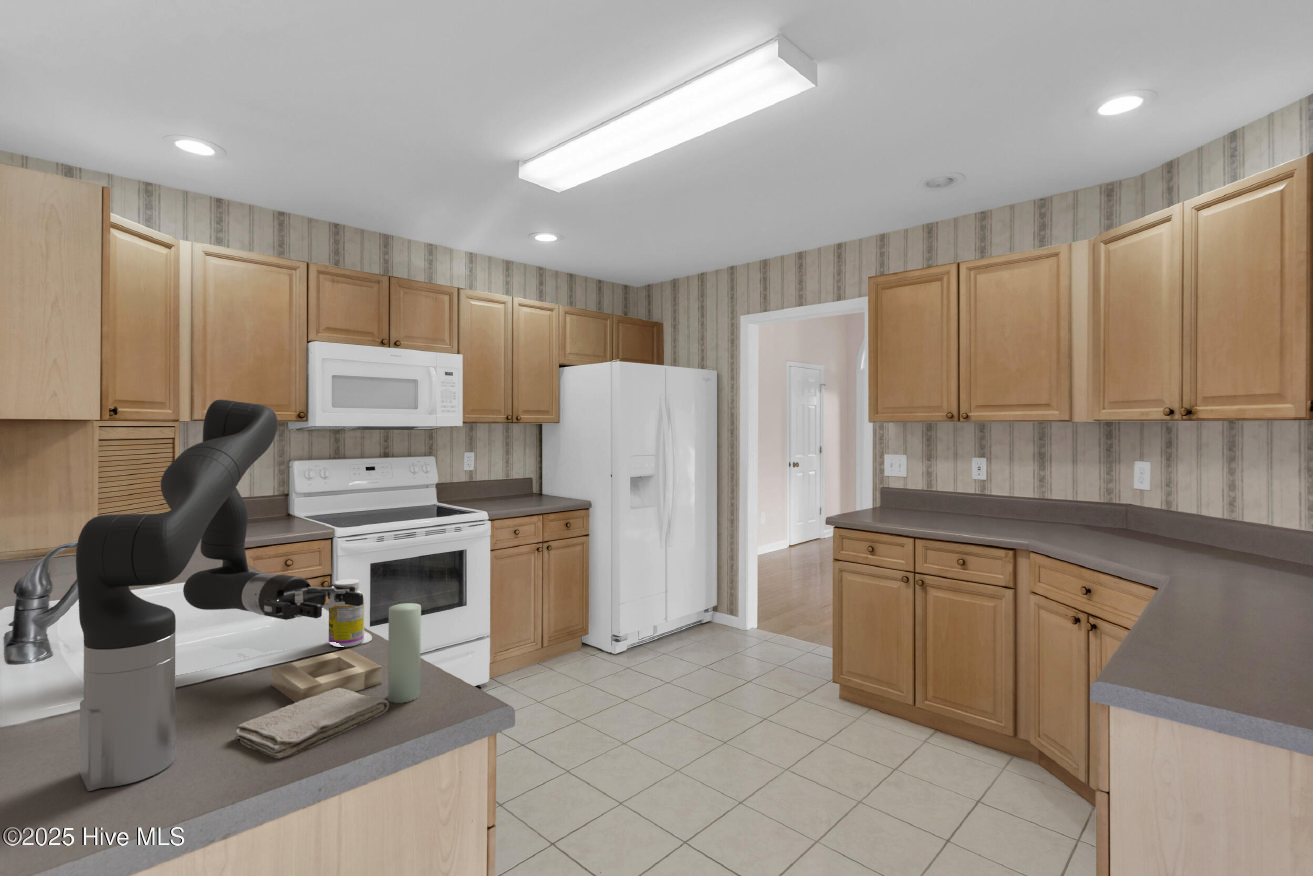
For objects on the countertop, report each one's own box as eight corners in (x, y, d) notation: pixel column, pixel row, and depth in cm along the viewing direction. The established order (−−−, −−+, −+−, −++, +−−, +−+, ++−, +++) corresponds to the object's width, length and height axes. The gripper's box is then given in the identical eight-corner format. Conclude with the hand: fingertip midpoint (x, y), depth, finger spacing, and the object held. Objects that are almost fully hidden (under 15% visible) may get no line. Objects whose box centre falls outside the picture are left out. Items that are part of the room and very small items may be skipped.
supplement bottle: (331, 639, 134) (332, 578, 134) (366, 636, 136) (366, 576, 136) (325, 650, 128) (326, 586, 127) (361, 647, 130) (362, 584, 129)
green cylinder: (397, 706, 103) (398, 613, 103) (382, 697, 106) (383, 607, 106) (425, 696, 107) (426, 607, 107) (410, 688, 110) (411, 601, 110)
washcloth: (227, 745, 91) (228, 723, 91) (340, 698, 107) (340, 679, 107) (280, 766, 86) (281, 743, 86) (390, 713, 102) (390, 694, 102)
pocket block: (302, 707, 102) (302, 688, 102) (271, 685, 110) (271, 667, 110) (381, 683, 112) (381, 666, 112) (348, 664, 120) (348, 648, 120)
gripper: (238, 582, 110) (305, 592, 104) (311, 567, 123) (374, 575, 117) (237, 626, 110) (304, 639, 104) (311, 606, 123) (374, 616, 117)
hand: (341, 605), depth 110 cm, fingers open, 8 cm apart
